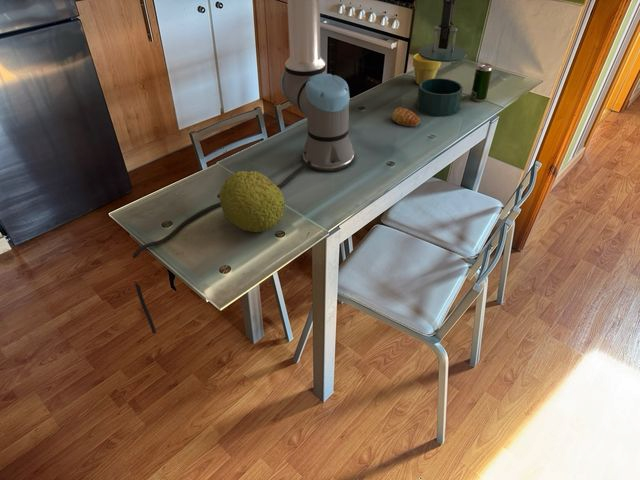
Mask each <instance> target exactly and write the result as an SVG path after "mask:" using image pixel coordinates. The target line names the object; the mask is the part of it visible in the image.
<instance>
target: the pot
mask: <svg viewBox="0 0 640 480" xmlns="http://www.w3.org/2000/svg"><path fill="white" fill-rule="evenodd" d="M463 88H464V87H463V85H462V84H461V83H459V82H458V81H457V80H453V79H449V78H442V77H437V78H436V77H435V78H433V79H427V80H424V81H422V82H421V83H420V85H419V84H418V91H417V100H416V108H417V110H418V111H419V112H421V113H423V114H425V115H428V116H434V117H446V116H451V115H454V114H456V113H458V111H459V110H460V106H461V101H462V94H463V90H464V89H463Z"/></svg>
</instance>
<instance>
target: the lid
mask: <svg viewBox="0 0 640 480" xmlns="http://www.w3.org/2000/svg"><path fill="white" fill-rule="evenodd" d="M438 32H441V27H439V26H437V25H435V26H434V34H433V39H432V40H433V41H432V44H429V45H424V46H422V47H420V48H419V49H418V52H417V54H419V55H420V56H421V57H422V58H425V59H427V60H431V61H437V62H441V63H453V62H458V61H463V60H464V59H466V57H467V55H468V54H467V53H468V52H467V51H466V50H465V49H463V48H461V47H459V46H456V45H455V43H456V36H457V32H458V28H457V27H451V28H450V33H453V34H452V35H453V36H452V42H451V44H448V47H447V49H440V48H438V46H439V43H438V44H436V41H437V34H438Z"/></svg>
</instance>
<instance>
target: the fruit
mask: <svg viewBox="0 0 640 480" xmlns="http://www.w3.org/2000/svg"><path fill="white" fill-rule="evenodd" d="M277 186H278V185H276V184H275V183H274V182H273V181H272V180H271V179H270V178H269V177H268V176H266V175H265V174H263V173H261V172H259V171H255V170H251V171H246V170H241V171H240V170H239V171H235V172H234V173H232V174H231V175H229V176H228V177H227V178H226V179H225V180H224V184H222V186H221V188H220V192H219V202H220V205H221V206H220V208H221V211H222V213H223V215H224V217H225V218H226V220H228V221H229V222H230V223H232V224H233V225H234V226H236V227H238V228H239V229H241V230H243V231H245V232H246V231H247V232H249V233H250V232H252V233H261V232H266V231H268V230H270V229H271V228H273V227H274V228H275V226H276V225H277V224H278V223H279V222H280V221H281V219H282V218H283V215H284V209H285V206H286V204H285V197H284V195H283V194H282V190H281V188H279V187H277Z"/></svg>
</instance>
